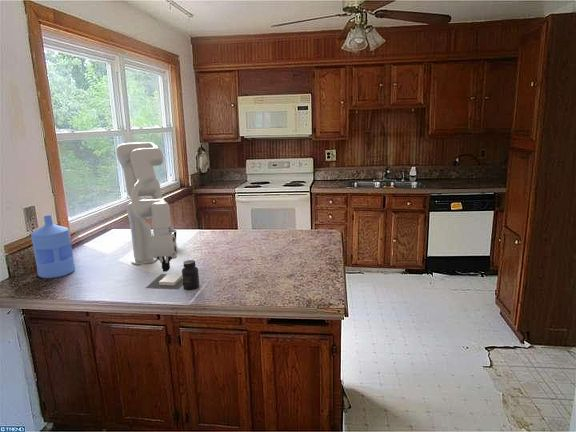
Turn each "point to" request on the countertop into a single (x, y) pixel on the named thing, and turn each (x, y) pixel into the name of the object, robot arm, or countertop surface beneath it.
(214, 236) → the countertop surface
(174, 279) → the block
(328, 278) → the countertop surface
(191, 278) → the supplement bottle
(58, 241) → the water jug
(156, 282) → the mat
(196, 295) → the countertop surface
